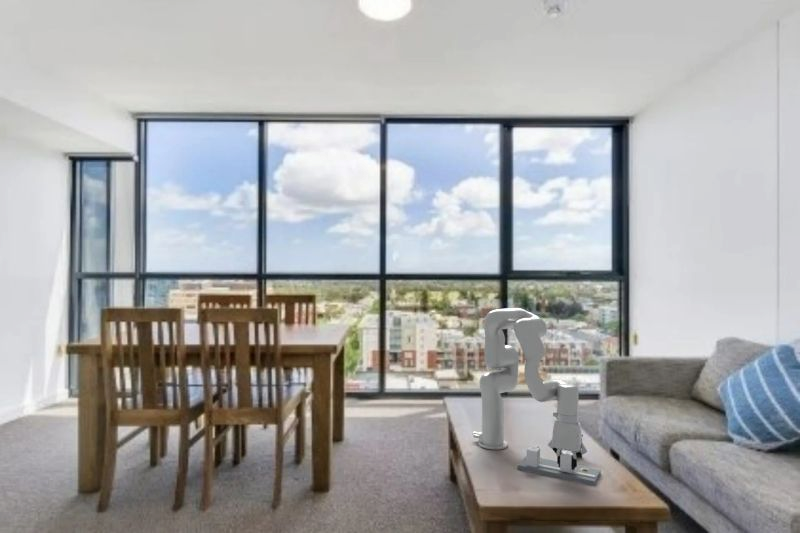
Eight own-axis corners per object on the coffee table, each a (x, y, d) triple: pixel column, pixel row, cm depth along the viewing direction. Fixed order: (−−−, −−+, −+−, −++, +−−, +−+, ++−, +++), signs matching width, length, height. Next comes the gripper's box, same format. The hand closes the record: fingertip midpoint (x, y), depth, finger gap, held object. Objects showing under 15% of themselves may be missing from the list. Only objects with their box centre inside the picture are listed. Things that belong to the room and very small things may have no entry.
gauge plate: (517, 468, 197) (517, 449, 197) (526, 458, 208) (527, 440, 208) (594, 485, 183) (594, 464, 183) (600, 473, 193) (600, 453, 193)
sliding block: (560, 471, 191) (560, 454, 191) (564, 464, 197) (565, 448, 197) (571, 473, 189) (571, 456, 188) (575, 466, 195) (575, 450, 195)
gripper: (542, 416, 192) (541, 466, 192) (589, 424, 184) (588, 475, 184) (547, 412, 199) (547, 459, 199) (593, 419, 190) (592, 468, 190)
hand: (567, 466), depth 191 cm, fingers closed on sliding block, 4 cm apart
